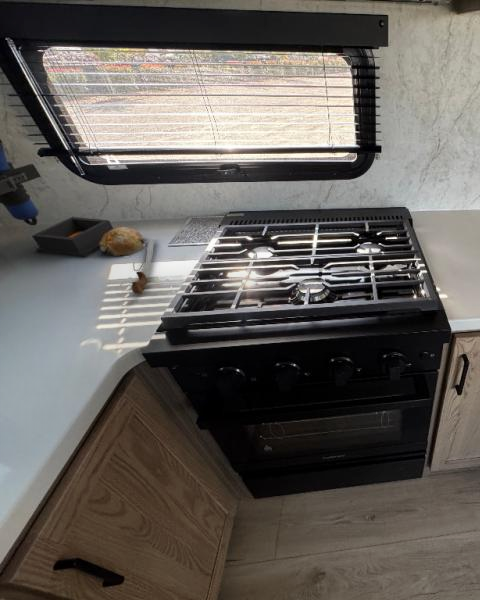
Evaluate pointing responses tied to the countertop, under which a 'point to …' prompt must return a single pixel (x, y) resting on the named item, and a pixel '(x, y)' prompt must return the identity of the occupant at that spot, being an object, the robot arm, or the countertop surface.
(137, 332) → the countertop surface
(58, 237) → the dark grey tray
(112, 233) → the bread roll
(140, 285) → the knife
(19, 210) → the flashlight
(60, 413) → the countertop surface
